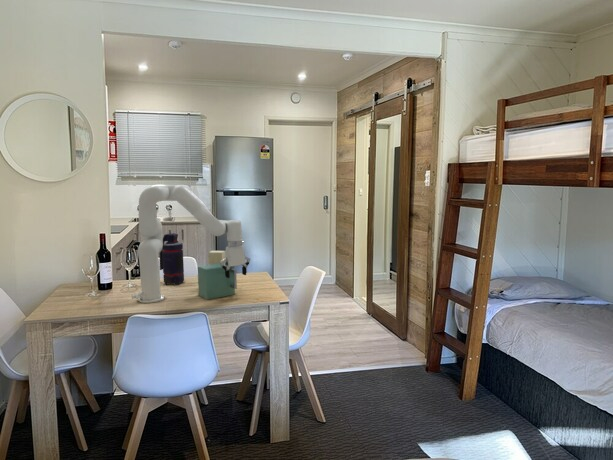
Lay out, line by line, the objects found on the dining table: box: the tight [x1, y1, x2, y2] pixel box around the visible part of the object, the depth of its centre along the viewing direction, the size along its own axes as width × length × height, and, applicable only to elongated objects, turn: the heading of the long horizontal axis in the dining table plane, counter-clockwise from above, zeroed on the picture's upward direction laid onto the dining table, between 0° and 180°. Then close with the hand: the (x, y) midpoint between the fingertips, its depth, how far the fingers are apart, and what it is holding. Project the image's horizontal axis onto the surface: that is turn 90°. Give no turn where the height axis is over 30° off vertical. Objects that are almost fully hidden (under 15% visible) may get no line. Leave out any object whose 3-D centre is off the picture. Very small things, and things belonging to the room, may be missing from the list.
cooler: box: [197, 263, 226, 300], centre depth 239 cm, size 10×16×16 cm, turn 126°
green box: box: [206, 266, 238, 300], centre depth 233 cm, size 6×16×16 cm, turn 126°
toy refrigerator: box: [207, 250, 225, 265], centre depth 256 cm, size 8×7×21 cm
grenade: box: [158, 232, 185, 286], centre depth 267 cm, size 14×12×30 cm
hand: (236, 276), depth 234 cm, fingers open, 9 cm apart
